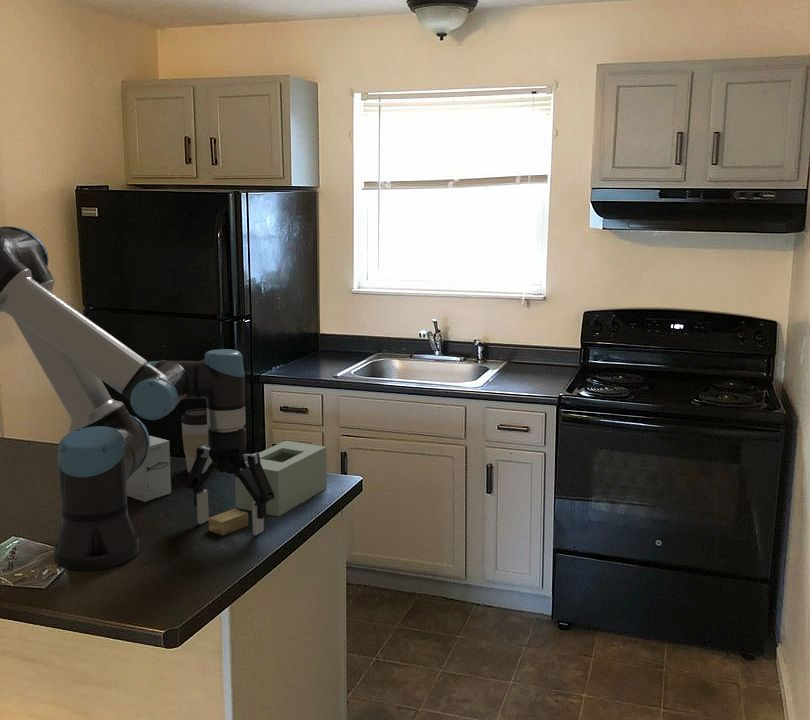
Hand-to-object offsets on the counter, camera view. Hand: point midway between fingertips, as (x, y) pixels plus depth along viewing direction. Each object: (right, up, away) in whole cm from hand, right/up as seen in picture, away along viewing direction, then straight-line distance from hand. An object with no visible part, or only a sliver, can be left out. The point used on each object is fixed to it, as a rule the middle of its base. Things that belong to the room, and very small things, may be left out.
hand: (230, 527), depth 181 cm
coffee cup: (-14, +7, +37) cm, 40 cm away
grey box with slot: (+8, +3, +18) cm, 20 cm away
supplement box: (-22, +4, +19) cm, 29 cm away
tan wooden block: (0, 0, 0) cm, 1 cm away
